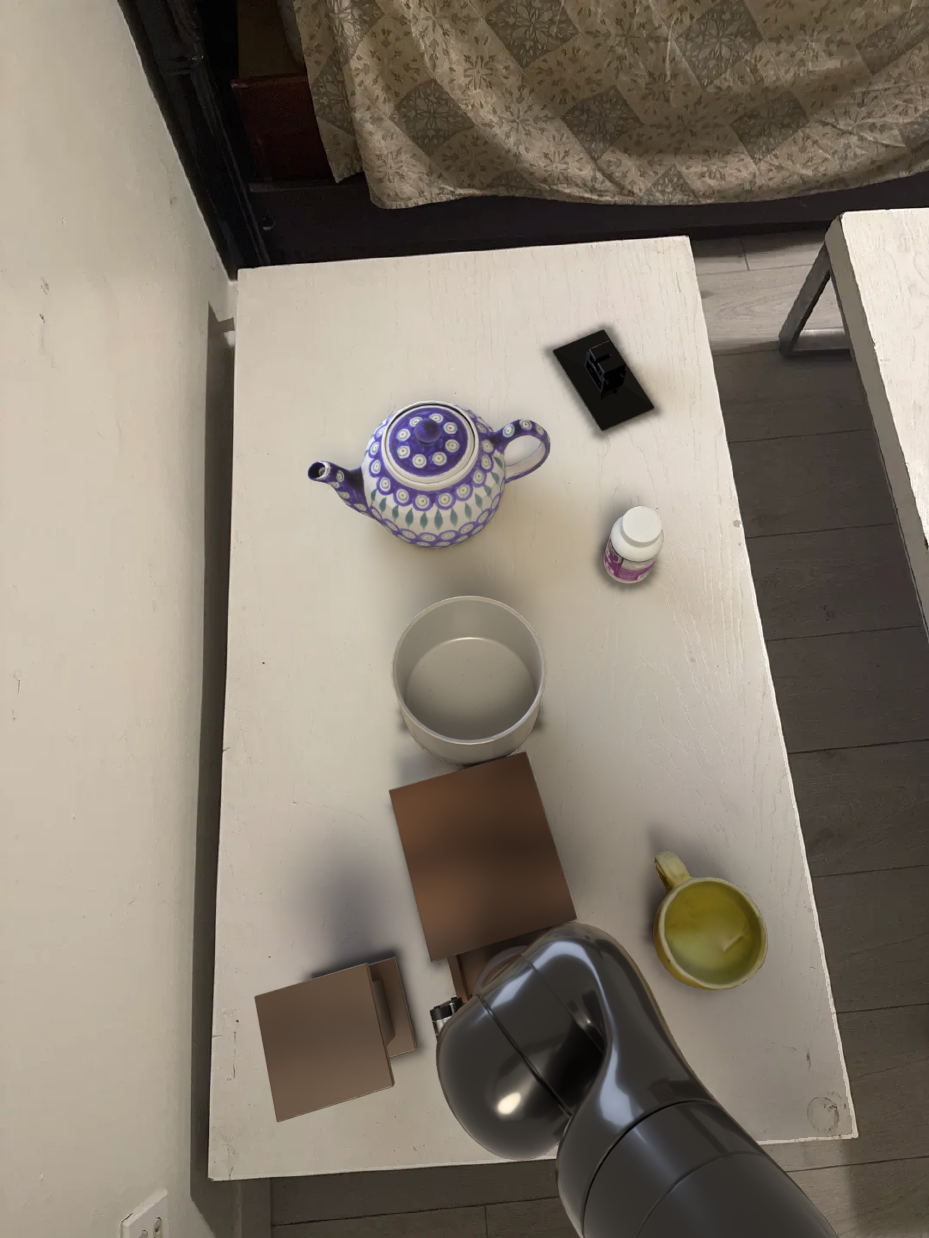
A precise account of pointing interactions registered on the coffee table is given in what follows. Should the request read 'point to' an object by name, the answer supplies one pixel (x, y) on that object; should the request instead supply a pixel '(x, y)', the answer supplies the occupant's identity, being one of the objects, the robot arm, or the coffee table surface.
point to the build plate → (603, 380)
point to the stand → (334, 1037)
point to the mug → (707, 929)
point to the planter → (469, 679)
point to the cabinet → (480, 856)
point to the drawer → (481, 962)
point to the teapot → (433, 472)
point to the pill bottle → (634, 545)
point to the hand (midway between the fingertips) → (519, 992)
